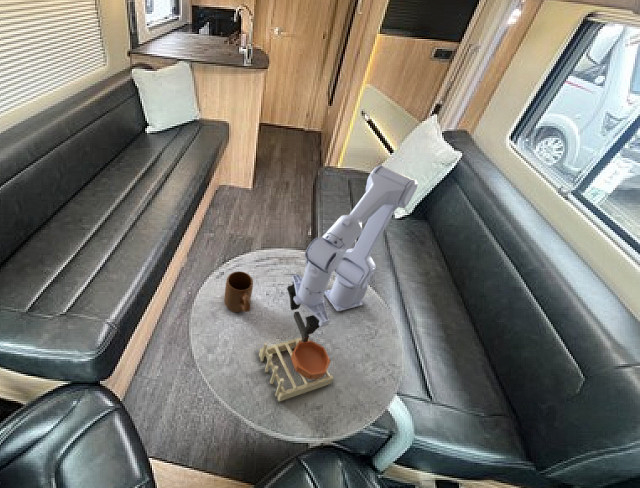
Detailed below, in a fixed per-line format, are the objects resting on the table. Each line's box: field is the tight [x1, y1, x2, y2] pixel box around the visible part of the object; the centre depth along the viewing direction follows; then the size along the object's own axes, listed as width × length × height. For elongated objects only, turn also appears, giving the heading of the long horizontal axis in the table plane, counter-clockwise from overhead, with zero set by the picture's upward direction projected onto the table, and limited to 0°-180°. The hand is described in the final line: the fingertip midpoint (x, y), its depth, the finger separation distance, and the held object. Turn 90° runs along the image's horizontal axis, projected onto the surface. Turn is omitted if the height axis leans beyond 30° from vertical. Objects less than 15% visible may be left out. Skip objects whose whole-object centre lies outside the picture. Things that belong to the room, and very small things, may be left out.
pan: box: [290, 311, 331, 380], centre depth 80 cm, size 16×9×4 cm, turn 12°
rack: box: [258, 336, 334, 403], centre depth 78 cm, size 14×12×7 cm
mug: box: [223, 271, 254, 313], centre depth 90 cm, size 12×8×9 cm, turn 17°
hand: (301, 320), depth 82 cm, fingers open, 7 cm apart
